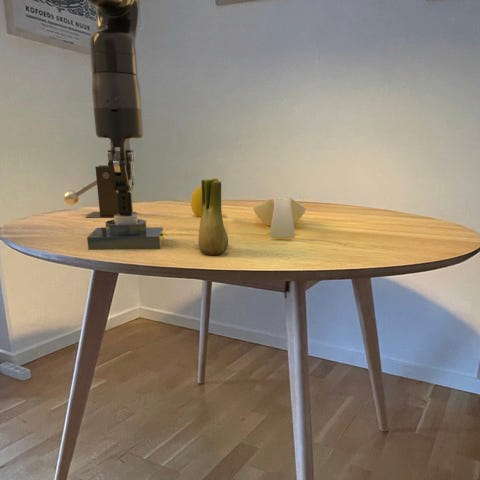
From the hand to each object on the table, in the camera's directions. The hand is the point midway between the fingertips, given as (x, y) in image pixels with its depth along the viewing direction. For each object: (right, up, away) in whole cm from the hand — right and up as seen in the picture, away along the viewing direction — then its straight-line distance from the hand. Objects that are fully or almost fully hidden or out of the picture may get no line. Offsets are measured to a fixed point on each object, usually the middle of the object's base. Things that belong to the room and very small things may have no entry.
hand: (126, 215), depth 82 cm
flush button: (0, -2, +1) cm, 2 cm away
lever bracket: (-10, +5, +26) cm, 28 cm away
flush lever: (-13, +10, +24) cm, 29 cm away
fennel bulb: (+16, -8, -4) cm, 18 cm away
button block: (0, -5, +2) cm, 5 cm away
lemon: (+11, +4, +26) cm, 29 cm away
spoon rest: (+29, +1, +18) cm, 34 cm away
